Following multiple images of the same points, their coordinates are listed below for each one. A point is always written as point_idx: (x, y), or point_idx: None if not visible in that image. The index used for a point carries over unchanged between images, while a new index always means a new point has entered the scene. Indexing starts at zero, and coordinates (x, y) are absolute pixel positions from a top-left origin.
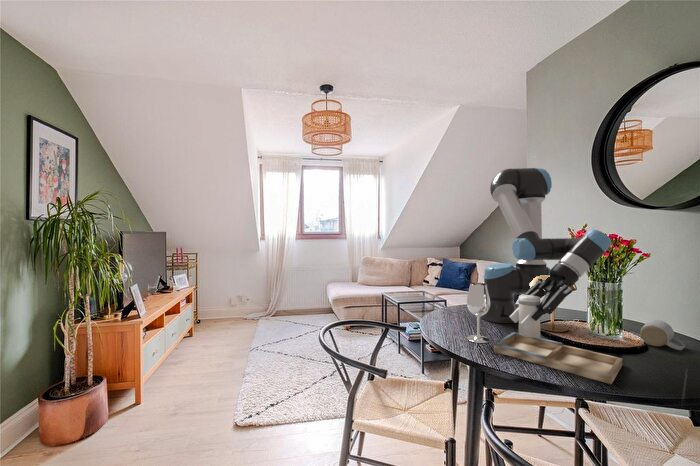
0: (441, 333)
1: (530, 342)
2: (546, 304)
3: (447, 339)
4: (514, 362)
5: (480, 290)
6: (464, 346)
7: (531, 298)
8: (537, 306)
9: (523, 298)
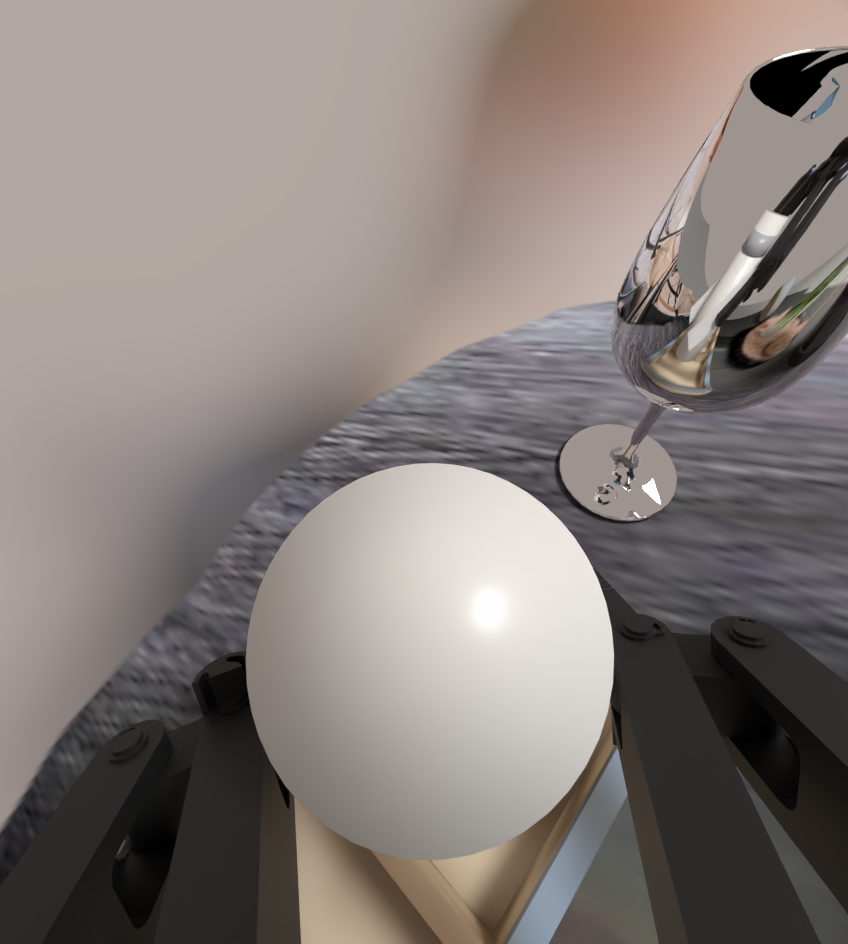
0: None
1: (601, 752)
2: (104, 798)
3: (577, 356)
4: None
5: (703, 171)
6: (504, 403)
7: (298, 602)
8: (224, 663)
9: (340, 492)
